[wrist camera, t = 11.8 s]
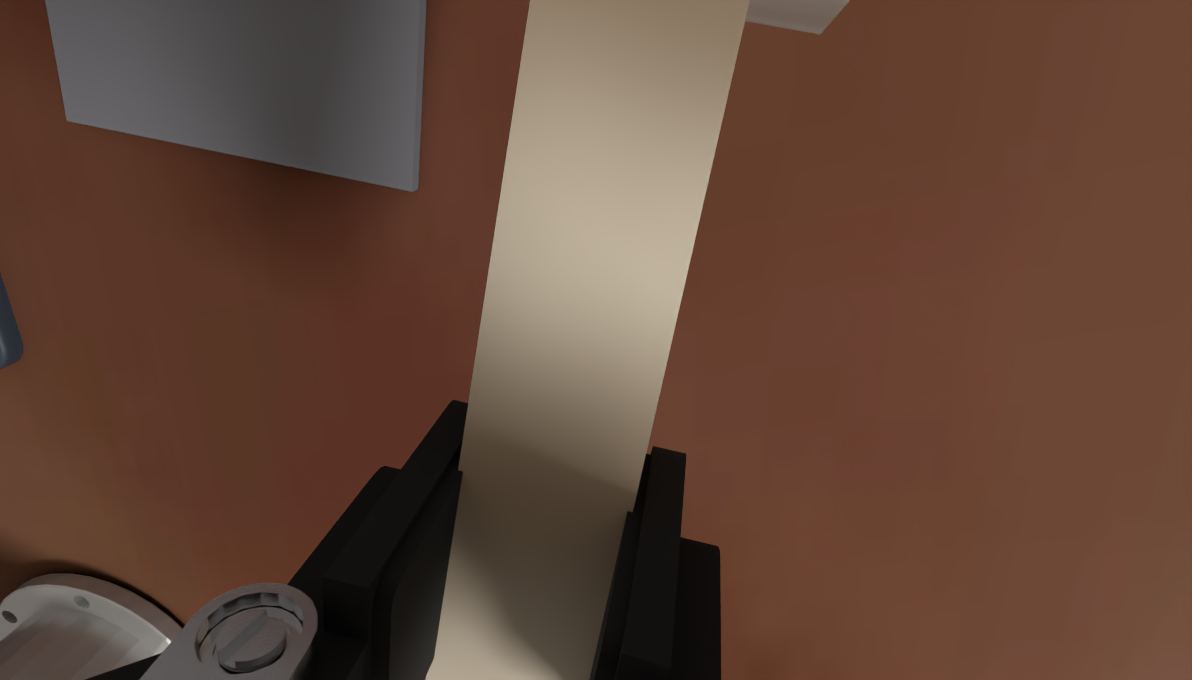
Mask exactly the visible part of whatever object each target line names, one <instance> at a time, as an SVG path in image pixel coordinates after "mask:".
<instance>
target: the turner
mask: <svg viewBox="0 0 1192 680" xmlns="http://www.w3.org/2000/svg"><path fill="white" fill-rule="evenodd" d="M849 1H850V0H530V5H529V12H528V18H527V25H526V32H525V38H524V45H523V51H522V58H521V64H520V71H519V77H518V84H517V90H516V97H515V103H514V110H513V116H512V123H511V129H510V136H509V142H508V149H507V155H506V162H505V168H504V175H503V181H502V188H501V194H500V201H499V207H498V214H497V220H496V227H495V233H494V240H493V246H492V253H491V259H490V266H489V272H488V279H487V285H486V292H485V298H484V305H483V311H482V318H481V324H480V331H479V337H478V344H477V350H476V357H475V363H474V370H473V376H472V383H471V389H470V396H469V402H468V409H467V415H466V422H465V428H464V435H463V441H462V448H461V454H460V461H459V467H458V470H459V471H463V475H462V481H461V488H460V494H459V500H458V507H457V513H456V520H455V526H454V533H453V539H452V545H451V552H450V558H449V565H448V571H447V578H446V584H445V590H444V597H443V603H442V610H441V616H440V623H439V629H438V635H437V642H436V648H435V655H434V659H433V662H432V664H431V666H430V668H429V670H428V673H427V676H426V680H589V679H590V674H591V670H592V666H593V661H594V657H595V652H596V648H597V643H598V639H599V635H600V630H601V626H602V621H603V617H604V613H605V608H606V604H607V599H608V595H609V590H610V586H611V582H612V577H613V573H614V568H615V564H616V559H617V555H618V551H619V546H620V542H621V537H622V533H623V529H624V524H625V520H626V515H627V511H629V512H633V509H634V504H635V500H636V495H637V491H638V487H639V482H640V478H641V474H642V469H643V465H644V460H645V456H646V452H647V447H648V443H649V439H650V434H651V430H652V425H653V421H654V417H655V412H656V408H657V404H658V399H659V395H660V390H661V386H662V382H663V377H664V373H665V369H666V364H667V360H668V355H669V351H670V347H671V342H672V338H673V334H674V329H675V325H676V320H677V316H678V312H679V307H680V303H681V299H682V294H683V290H684V285H685V281H686V277H687V272H688V268H689V264H690V259H691V255H692V250H693V246H694V242H695V237H696V233H697V229H698V224H699V220H700V215H701V211H702V207H703V202H704V198H705V194H706V189H707V185H708V180H709V176H710V172H711V167H712V163H713V159H714V154H715V150H716V145H717V141H718V137H719V132H720V128H721V124H722V119H723V115H724V110H725V106H726V102H727V97H728V93H729V89H730V84H731V80H732V75H733V71H734V67H735V62H736V58H737V54H738V49H739V45H740V40H741V36H742V32H743V27H744V23H745V21H748V22H754V23H759V24H765V25H771V26H776V27H782V28H788V29H793V30H799V31H805V32H810V33H816V34H821V33H822V32H823V31H824V29H825V28H826V27H827V26H828V25H829V24H830V23H831V21H832V20H833V19H834V18H835V17H836V16H837V15H838V13H839V12H840V11H841V10H842V9H843V8H844V7H845V5H846V4H847V3H848V2H849Z"/></svg>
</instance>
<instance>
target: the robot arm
mask: <svg viewBox="0 0 1192 680" xmlns="http://www.w3.org/2000/svg"><path fill="white" fill-rule="evenodd" d="M467 409H468V403H465V402H460V401H456V400H453V401H451V402H450V403H449V405H448V406H447V407H446V409H445V410H444V411H443V413H442V414H441V416H440V417H439V418H438V420H437V421H436V422H435V424H434V425H433V426H432V428H431V429H430V431H429V432H428V433H427V435H426V436H425V437H424V439H423V440H422V441H421V443H420V444H419V446H418V447H417V448H416V450H415V451H414V452H413V454H412V455H411V456H410V458H409V459H408V461H407V462H406V463H405V465H404V466H403V467H402V469H401V470H400V469H396V468H392V467H388V466H384V467H381V468H380V469H379V470H378V471H377V472H376V473H375V474H374V475H373V476H372V478H371V479H370V480H369V481H368V483H367V484H366V485H365V487H364V488H363V489H362V490H361V492H360V493H359V494H358V495H357V497H356V498H355V499H354V500H353V502H352V503H351V504H350V506H349V507H348V508H347V509H346V511H345V512H344V513H343V514H342V516H341V517H340V518H339V520H338V521H337V522H336V523H335V525H334V526H333V527H332V528H331V530H330V531H329V532H328V534H327V535H326V536H325V537H324V539H323V540H322V541H321V542H320V544H319V545H318V546H317V547H316V549H315V550H314V551H313V553H312V554H311V555H310V556H309V558H308V559H307V560H306V561H305V563H304V564H303V565H302V567H301V568H300V569H299V570H298V572H297V573H296V574H295V575H294V577H293V578H292V579H291V581H290V582H289V583H288V584H287V585H286V584H277V583H259V584H252V585H246V586H243V587H240V588H237V589H234V590H231V591H228V592H226V593H224V594H222V595H221V596H219V597H217V598H216V599H214V600H212V601H210V602H209V603H207V604H206V605H205V606H204V607H203V608H202V609H201V610H200V611H198V612H197V613H196V614H195V615H194V616H193V617H192V618H191V619H190V620H189V622H188V623H187V624H186V625H185V626H184V628H182V627H181V626H180V625H179V624H178V623H177V622H175V621H174V620H173V619H172V618H171V617H170V616H169V615H167V614H166V613H165V612H163V611H162V610H161V609H159V608H158V607H156V606H155V605H154V604H152V603H151V602H149V601H147V600H146V599H144V598H142V597H140V596H139V595H137V594H135V593H134V592H132V591H129V590H127V589H125V588H122V587H120V586H118V585H116V584H113V583H111V582H108V581H104V580H101V579H97V578H94V577H91V576H84V575H78V574H71V573H60V574H47V575H42V576H38V577H34V578H32V579H31V580H29V581H27V582H25V583H23V584H22V585H21V586H19V587H18V588H17V589H16V590H14V591H13V592H12V593H11V594H10V595H8V596H7V597H6V598H5V599H3V601H2V602H1V604H0V680H424V679H425V677H426V675H427V673H428V670H429V668H430V666H431V664H432V662H433V659H434V655H435V648H436V642H437V635H438V629H439V623H440V616H441V610H442V603H443V597H444V590H445V584H446V578H447V571H448V565H449V558H450V552H451V545H452V539H453V533H454V526H455V520H456V513H457V507H458V500H459V494H460V488H461V481H462V475H463V471H459V470H458V467H459V461H460V454H461V448H462V441H463V435H464V428H465V422H466V415H467ZM685 466H686V454H685V453H681V452H677V451H672V450H668V449H664V448H659V447H655V446H653V448H652V452H651V455H650V454H646V456H645V460H644V465H643V469H642V474H641V478H640V482H639V487H638V491H637V495H636V500H635V504H634V509H633V512H629V511H627V515H626V520H625V524H624V529H623V533H622V537H621V542H620V546H619V551H618V555H617V559H616V564H615V568H614V573H613V577H612V582H611V586H610V590H609V595H608V599H607V604H606V608H605V613H604V617H603V621H602V626H601V630H600V635H599V639H598V643H597V648H596V652H595V657H594V661H593V666H592V670H591V674H590V679H589V680H721V604H720V550H719V547H718V546H714V545H710V544H706V543H702V542H698V541H694V540H690V539H686V538H681V537H680V535H681V521H682V508H683V494H684V480H685Z"/></svg>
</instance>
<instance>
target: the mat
mask: <svg viewBox="0 0 1192 680" xmlns="http://www.w3.org/2000/svg"><path fill="white" fill-rule="evenodd" d="M45 2H46V8H47V13H48V19H49V24H50V30H51V36H52V41H53V47H54V52H55V58H56V63H57V69H58V74H59V80H60V85H61V91H62V96H63V102H64V108H65V113H66V119H67V121H70V122H75V123H80V124H85V125H90V126H95V127H99V128H104V129H109V130H114V131H119V132H124V133H129V134H133V135H138V136H143V137H148V138H153V139H158V140H163V141H168V142H172V143H177V144H182V145H187V146H192V147H197V148H202V149H207V150H211V151H216V152H221V153H226V154H231V155H236V156H241V157H246V158H250V159H255V160H260V161H265V162H270V163H275V164H280V165H284V166H289V167H294V168H299V169H304V170H309V171H314V172H319V173H323V174H328V175H333V176H338V177H343V178H348V179H353V180H358V181H362V182H367V183H372V184H377V185H382V186H387V187H392V188H397V189H401V190H406V191H411V192H413V191H415V190H417V189H418V181H419V159H420V136H421V113H422V91H423V68H424V45H425V23H426V0H45Z"/></svg>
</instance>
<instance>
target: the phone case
mask: <svg viewBox="0 0 1192 680" xmlns="http://www.w3.org/2000/svg"><path fill="white" fill-rule="evenodd" d="M22 354H23V344H22V340H21V337H20V333H19V330H18V327H17V324H16V321H15V318H14V315H13V312H12V308H11V305H10V302H9V299H8V296H7V293H6V290H5V287H4V283H3V280H2V277H1V274H0V369H2V368H4V367H6V366H8V365H10V364H13V363H15V362H17V361H18V360H19V359H20V358H21V356H22Z"/></svg>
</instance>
